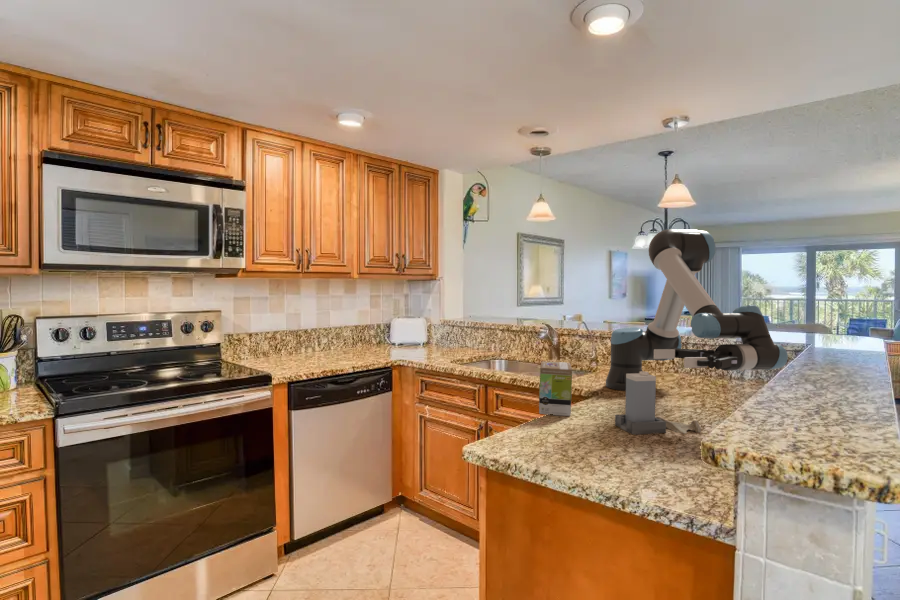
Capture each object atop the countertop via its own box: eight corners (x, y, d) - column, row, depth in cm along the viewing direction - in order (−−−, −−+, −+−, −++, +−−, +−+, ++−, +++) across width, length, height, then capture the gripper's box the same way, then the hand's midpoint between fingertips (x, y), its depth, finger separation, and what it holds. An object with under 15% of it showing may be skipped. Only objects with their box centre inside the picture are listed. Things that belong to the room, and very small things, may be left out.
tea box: (571, 416, 149) (572, 368, 148) (538, 414, 151) (539, 367, 150) (569, 405, 163) (570, 361, 163) (539, 403, 165) (540, 360, 165)
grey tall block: (625, 423, 138) (626, 370, 138) (644, 422, 139) (645, 370, 139) (635, 428, 133) (636, 374, 133) (654, 427, 135) (655, 373, 134)
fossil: (689, 437, 131) (689, 424, 131) (653, 426, 140) (653, 415, 140) (703, 433, 134) (703, 420, 134) (667, 423, 143) (667, 411, 143)
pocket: (614, 425, 140) (615, 414, 140) (646, 423, 142) (646, 413, 142) (632, 434, 131) (632, 423, 131) (665, 432, 133) (666, 421, 133)
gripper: (769, 379, 129) (699, 381, 125) (703, 362, 154) (642, 363, 150) (770, 351, 129) (700, 352, 125) (704, 338, 153) (643, 338, 149)
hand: (668, 358), depth 137 cm, fingers open, 13 cm apart
